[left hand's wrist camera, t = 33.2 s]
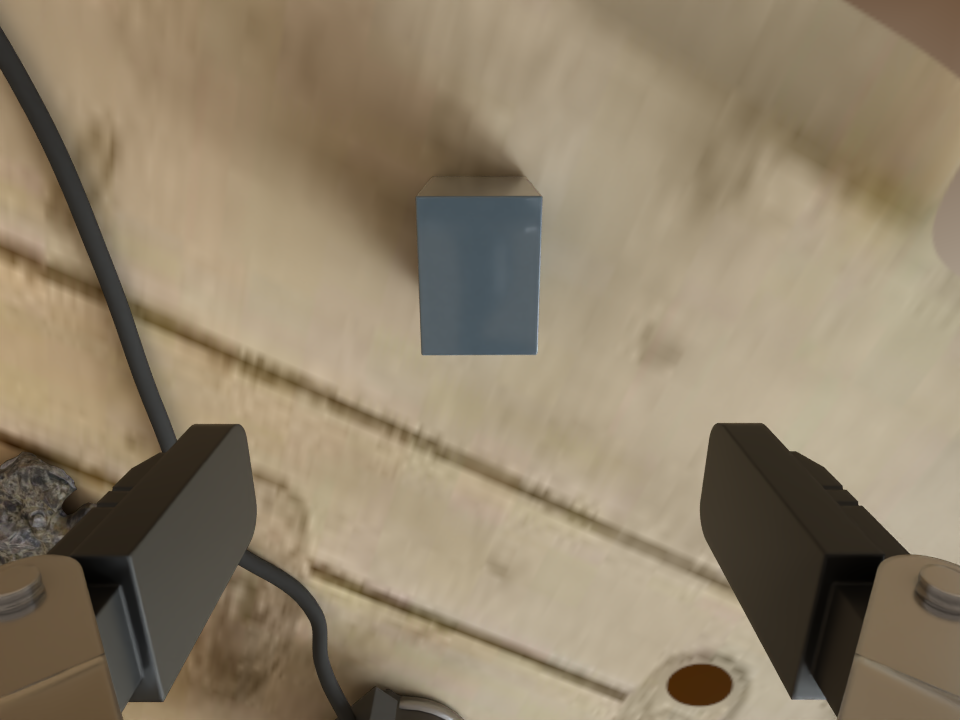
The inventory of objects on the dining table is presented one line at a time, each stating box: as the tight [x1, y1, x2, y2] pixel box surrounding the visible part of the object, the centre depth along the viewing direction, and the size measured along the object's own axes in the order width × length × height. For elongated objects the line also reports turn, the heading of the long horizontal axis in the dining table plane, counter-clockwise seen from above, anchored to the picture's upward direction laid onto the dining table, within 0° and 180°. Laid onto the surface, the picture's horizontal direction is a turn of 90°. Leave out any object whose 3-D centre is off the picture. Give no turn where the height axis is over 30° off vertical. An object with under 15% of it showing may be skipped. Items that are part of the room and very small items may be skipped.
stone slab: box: [0, 452, 97, 566], centre depth 38 cm, size 12×17×3 cm
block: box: [416, 177, 542, 355], centre depth 29 cm, size 5×6×8 cm
